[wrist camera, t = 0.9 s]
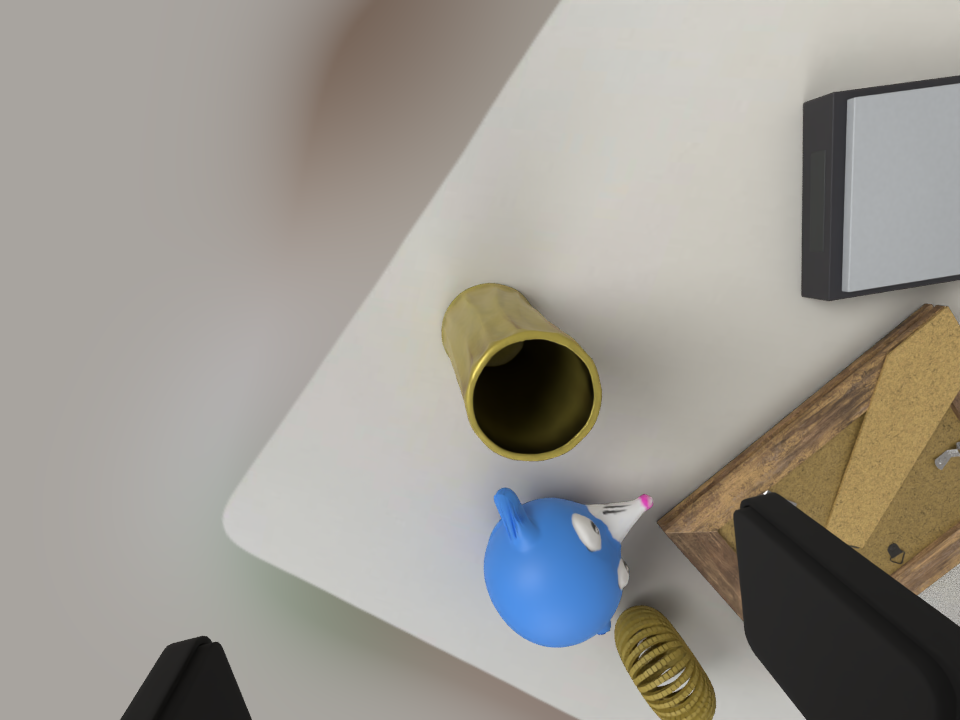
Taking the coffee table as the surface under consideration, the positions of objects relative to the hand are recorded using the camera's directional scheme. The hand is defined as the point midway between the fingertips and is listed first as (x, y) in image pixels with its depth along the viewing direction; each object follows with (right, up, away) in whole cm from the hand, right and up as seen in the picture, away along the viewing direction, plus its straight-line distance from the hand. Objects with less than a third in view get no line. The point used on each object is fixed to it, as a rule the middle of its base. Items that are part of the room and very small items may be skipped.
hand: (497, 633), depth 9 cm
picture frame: (+27, -6, +30) cm, 41 cm away
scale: (+26, +16, +25) cm, 39 cm away
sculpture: (+12, -15, +31) cm, 36 cm away
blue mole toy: (+5, -6, +28) cm, 29 cm away
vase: (0, +7, +24) cm, 25 cm away
